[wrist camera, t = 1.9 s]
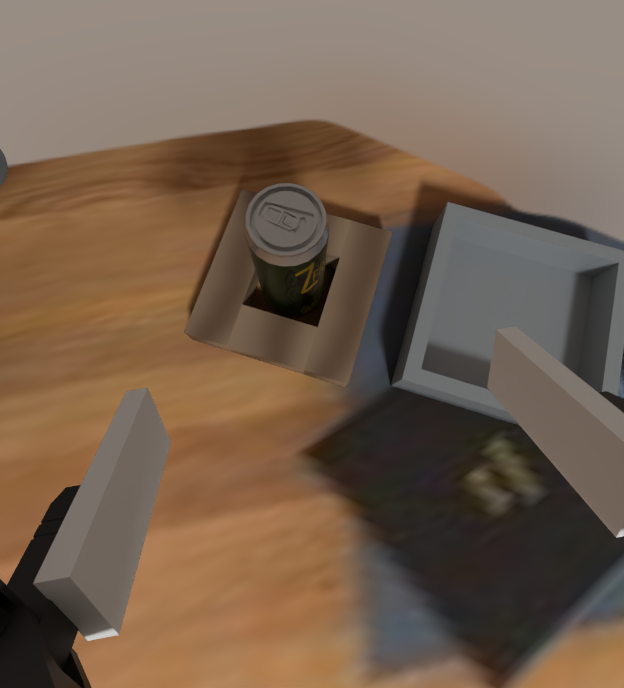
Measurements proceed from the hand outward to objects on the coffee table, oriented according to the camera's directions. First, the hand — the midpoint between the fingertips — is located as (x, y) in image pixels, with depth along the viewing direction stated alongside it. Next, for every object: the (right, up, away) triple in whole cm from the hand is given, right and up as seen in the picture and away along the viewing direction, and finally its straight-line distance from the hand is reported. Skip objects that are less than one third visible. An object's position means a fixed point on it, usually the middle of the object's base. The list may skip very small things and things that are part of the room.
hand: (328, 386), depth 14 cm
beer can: (-2, +6, +20) cm, 21 cm away
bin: (+16, +3, +19) cm, 26 cm away
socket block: (-2, +6, +20) cm, 21 cm away
